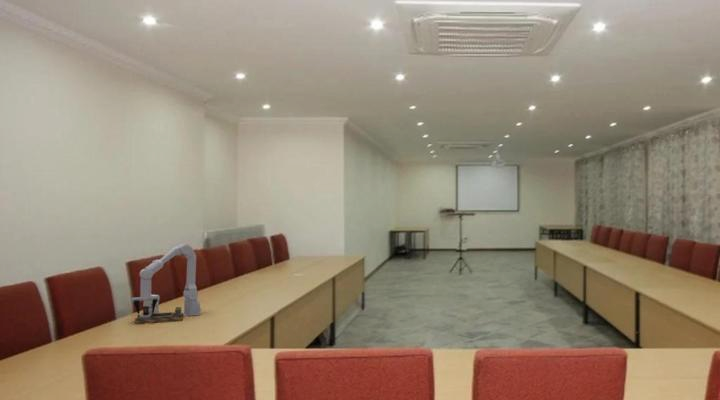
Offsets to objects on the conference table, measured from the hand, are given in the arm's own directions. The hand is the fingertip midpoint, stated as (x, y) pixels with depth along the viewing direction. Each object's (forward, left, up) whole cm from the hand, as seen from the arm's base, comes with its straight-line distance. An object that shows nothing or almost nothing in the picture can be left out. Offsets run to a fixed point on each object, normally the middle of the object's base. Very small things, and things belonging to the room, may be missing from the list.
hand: (145, 313), depth 263 cm
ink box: (-1, -16, -5) cm, 17 cm away
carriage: (0, 0, -3) cm, 3 cm away
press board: (-8, 0, -5) cm, 9 cm away
